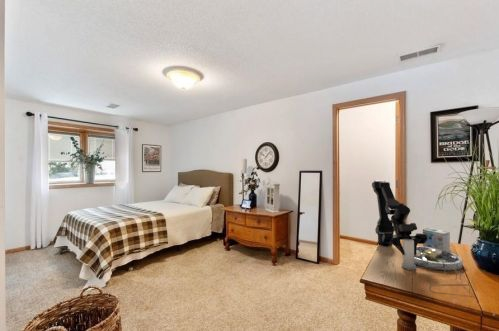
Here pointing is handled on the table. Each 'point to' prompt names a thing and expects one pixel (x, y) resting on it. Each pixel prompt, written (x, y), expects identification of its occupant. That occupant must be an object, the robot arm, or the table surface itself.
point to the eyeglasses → (445, 272)
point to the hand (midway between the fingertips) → (409, 254)
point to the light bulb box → (437, 239)
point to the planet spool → (408, 254)
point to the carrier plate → (437, 259)
